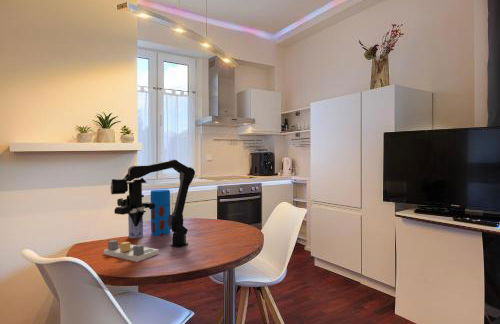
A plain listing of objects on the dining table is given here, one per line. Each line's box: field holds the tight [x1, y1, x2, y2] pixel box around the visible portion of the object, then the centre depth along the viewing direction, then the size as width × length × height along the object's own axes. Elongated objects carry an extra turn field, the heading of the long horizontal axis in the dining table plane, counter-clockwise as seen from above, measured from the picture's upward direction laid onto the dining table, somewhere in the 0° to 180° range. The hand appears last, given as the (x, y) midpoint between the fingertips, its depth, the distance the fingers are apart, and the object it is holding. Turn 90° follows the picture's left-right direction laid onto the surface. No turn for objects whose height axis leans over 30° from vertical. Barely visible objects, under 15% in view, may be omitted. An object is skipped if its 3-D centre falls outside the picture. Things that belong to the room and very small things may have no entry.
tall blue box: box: [150, 189, 171, 237], centre depth 179 cm, size 11×11×25 cm
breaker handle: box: [119, 241, 131, 252], centre depth 139 cm, size 3×3×4 cm
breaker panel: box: [103, 239, 159, 263], centre depth 142 cm, size 12×22×6 cm, turn 60°
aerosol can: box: [127, 208, 144, 239], centre depth 173 cm, size 8×8×20 cm
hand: (135, 226), depth 144 cm, fingers closed
